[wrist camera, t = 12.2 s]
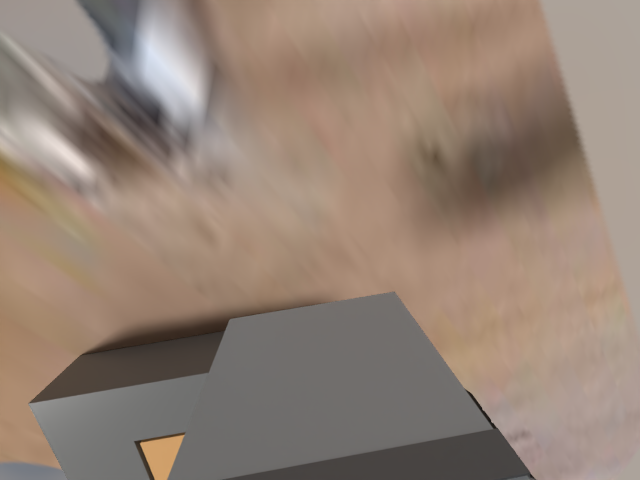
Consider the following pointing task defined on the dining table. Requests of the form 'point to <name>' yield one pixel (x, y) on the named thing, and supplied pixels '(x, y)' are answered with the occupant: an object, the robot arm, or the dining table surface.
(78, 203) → the dining table surface
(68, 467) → the box
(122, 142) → the dining table surface
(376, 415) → the cap
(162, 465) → the breaker button
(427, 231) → the dining table surface
